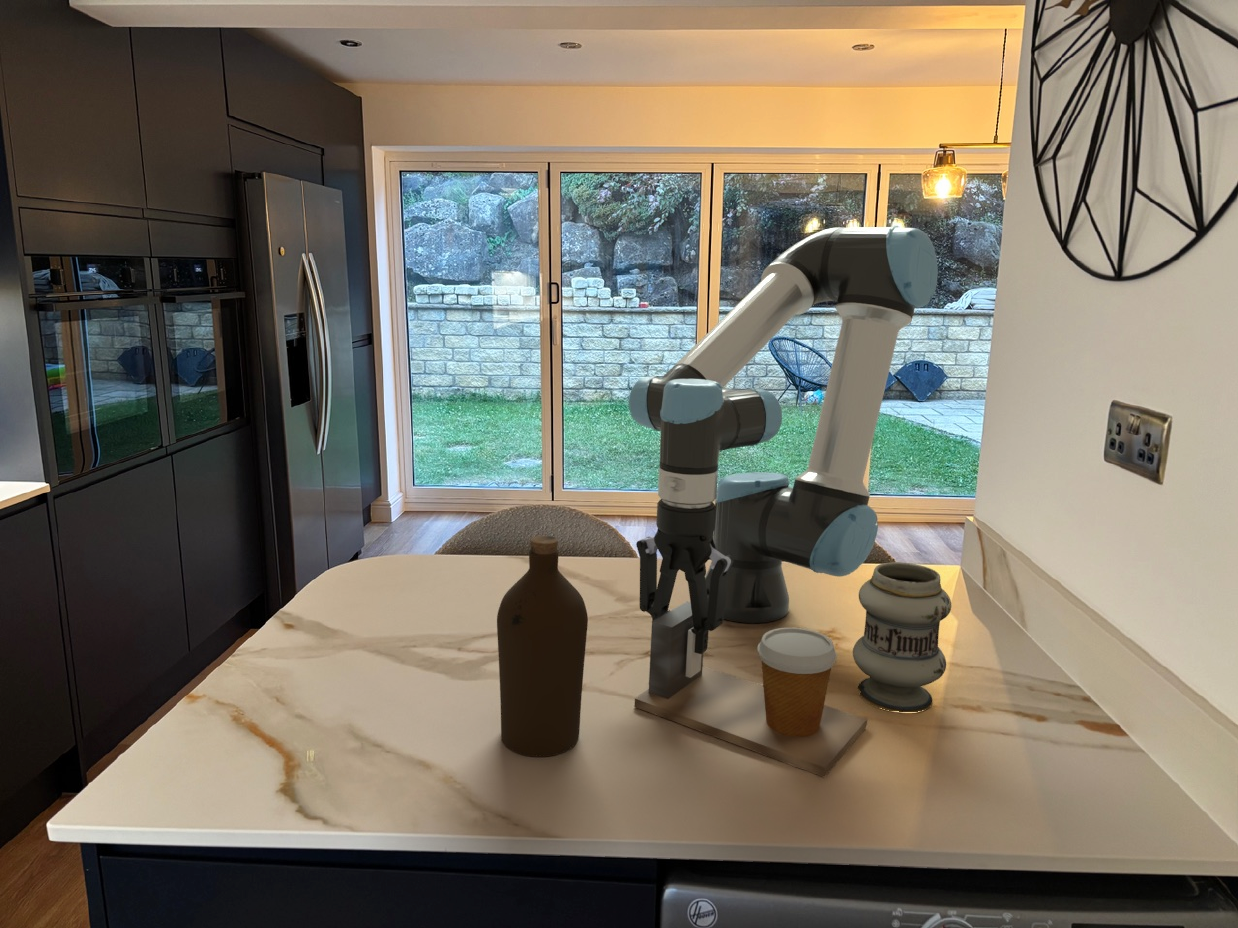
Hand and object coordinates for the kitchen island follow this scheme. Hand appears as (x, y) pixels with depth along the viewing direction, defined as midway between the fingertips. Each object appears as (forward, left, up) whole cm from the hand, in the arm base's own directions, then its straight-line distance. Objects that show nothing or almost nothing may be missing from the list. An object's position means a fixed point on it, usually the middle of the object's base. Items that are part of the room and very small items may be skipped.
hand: (677, 668), depth 117 cm
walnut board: (+11, 0, -4) cm, 11 cm away
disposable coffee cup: (+17, 0, -4) cm, 17 cm away
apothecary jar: (+24, +18, -4) cm, 30 cm away
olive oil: (-7, -20, -4) cm, 22 cm away
